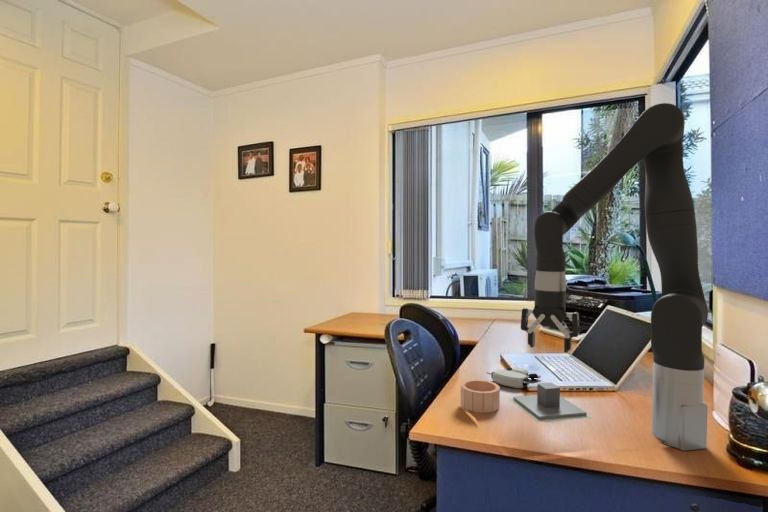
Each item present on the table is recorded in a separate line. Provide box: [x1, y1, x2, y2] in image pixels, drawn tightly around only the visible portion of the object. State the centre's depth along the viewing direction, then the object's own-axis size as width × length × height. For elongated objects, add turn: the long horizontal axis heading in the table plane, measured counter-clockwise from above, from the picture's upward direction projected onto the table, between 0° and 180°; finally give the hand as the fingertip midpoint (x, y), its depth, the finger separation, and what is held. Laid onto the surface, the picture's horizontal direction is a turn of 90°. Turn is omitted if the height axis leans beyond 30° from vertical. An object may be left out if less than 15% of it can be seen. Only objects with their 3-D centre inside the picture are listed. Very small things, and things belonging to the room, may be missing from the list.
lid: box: [512, 382, 588, 420], centre depth 108 cm, size 13×13×6 cm
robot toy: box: [486, 367, 542, 389], centre depth 128 cm, size 12×4×15 cm
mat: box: [508, 397, 593, 423], centre depth 108 cm, size 15×15×1 cm
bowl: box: [460, 379, 501, 414], centre depth 110 cm, size 10×10×6 cm
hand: (548, 349), depth 108 cm, fingers open, 8 cm apart
